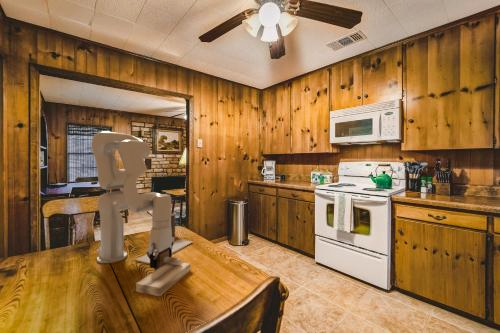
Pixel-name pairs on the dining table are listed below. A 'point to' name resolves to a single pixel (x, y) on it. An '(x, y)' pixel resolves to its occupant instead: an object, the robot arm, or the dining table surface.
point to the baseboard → (176, 247)
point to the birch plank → (162, 279)
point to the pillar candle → (173, 224)
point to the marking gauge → (166, 259)
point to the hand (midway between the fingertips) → (161, 262)
